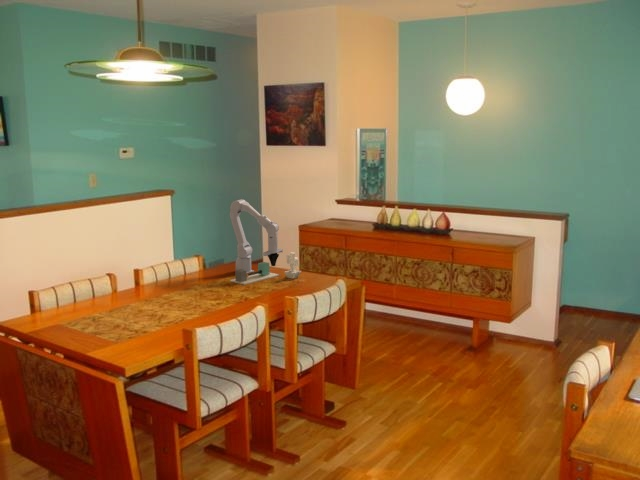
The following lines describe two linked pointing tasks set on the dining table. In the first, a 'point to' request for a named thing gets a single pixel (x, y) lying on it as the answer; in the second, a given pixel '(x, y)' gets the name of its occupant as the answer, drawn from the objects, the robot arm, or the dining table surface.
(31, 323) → the dining table surface
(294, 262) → the figurine
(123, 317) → the dining table surface
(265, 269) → the sleeve
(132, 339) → the dining table surface
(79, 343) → the dining table surface
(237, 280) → the rod stand
